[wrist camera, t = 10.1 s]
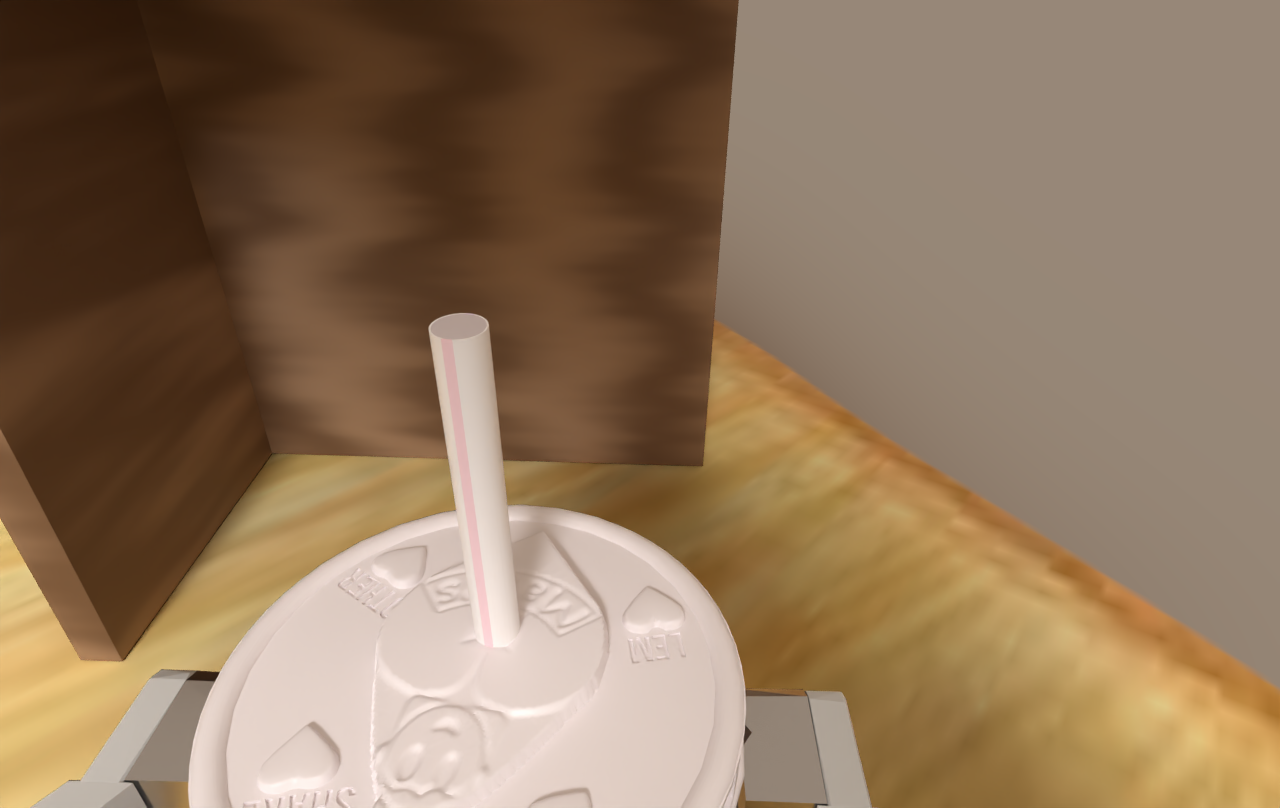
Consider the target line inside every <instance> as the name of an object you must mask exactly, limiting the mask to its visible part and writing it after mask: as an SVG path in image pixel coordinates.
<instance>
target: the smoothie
mask: <svg viewBox="0 0 1280 808" xmlns="http://www.w3.org/2000/svg"><path fill="white" fill-rule="evenodd" d="M428 329H429V336H430V343H431V349H432V356H433V362H434V369H435V375H436V382H437V388H438V395H439V402H440V408H441V415H442V421H443V428H444V434H445V441H446V447H447V454H448V461H449V467H450V474H451V480H452V487H453V493H454V500H455V506H456V510H454V511H448V512H442V513H438V514H434V515H431V516H427V517H424V518H421V519H417V520H414V521H410V522H407V523H403V524H400V525H398V526H395V527H393V528H391V529H388V530H386V531H384V532H381V533H379V534H377V535H374V536H372V537H370V538H367V539H365V540H363V541H360V542H358V543H357V544H355V545H353V546H352V547H350V548H348V549H346V550H345V551H343V552H341V553H339V554H338V555H336V556H334V557H333V558H331V559H329V560H328V561H326V562H324V563H323V564H321V565H319V566H318V567H317V568H316V569H314V570H313V571H312V572H310V573H309V574H308V575H306V576H305V577H304V578H302V579H301V580H300V581H298V582H297V583H296V584H295V585H294V586H292V587H291V588H290V589H289V590H288V591H286V592H285V593H284V594H283V595H282V596H281V597H280V598H279V599H278V600H277V601H276V602H275V603H274V604H272V605H271V606H270V607H269V608H268V609H267V610H266V611H265V612H264V613H263V615H262V616H261V617H260V618H259V619H258V620H257V621H256V622H255V624H254V625H253V626H252V627H251V628H250V629H249V630H248V632H247V633H246V634H245V636H244V637H243V638H242V640H241V641H240V642H239V644H238V645H237V646H236V648H235V649H234V650H233V652H232V654H231V655H230V657H229V658H228V660H227V661H226V663H225V665H224V666H223V668H222V669H221V671H220V673H219V675H218V677H217V679H216V681H215V683H214V685H213V687H212V689H211V691H210V693H209V695H208V698H207V700H206V703H205V705H204V708H203V710H202V713H201V715H200V719H199V722H198V726H197V729H196V733H195V736H194V740H193V746H192V752H191V758H190V764H189V782H188V795H189V807H190V808H736V806H737V802H738V799H739V795H740V791H741V788H742V784H743V780H744V776H745V775H744V733H745V718H746V696H745V683H744V677H743V670H742V664H741V661H740V657H739V654H738V650H737V646H736V643H735V641H734V638H733V636H732V633H731V631H730V629H729V626H728V624H727V622H726V620H725V618H724V617H723V615H722V613H721V611H720V609H719V607H718V606H717V604H716V603H715V602H714V600H713V599H712V597H711V596H710V594H709V593H708V591H707V590H706V589H705V588H704V587H703V585H702V584H701V583H700V582H699V581H698V579H697V578H696V577H695V576H694V575H693V574H692V573H691V572H690V571H689V570H688V569H687V568H686V567H685V566H684V565H683V564H682V563H680V562H679V561H678V560H677V559H675V558H674V557H673V556H672V555H670V554H669V553H668V552H667V551H665V550H664V549H662V548H661V547H659V546H658V545H656V544H655V543H653V542H652V541H650V540H648V539H646V538H644V537H643V536H641V535H639V534H637V533H635V532H634V531H631V530H629V529H627V528H624V527H622V526H620V525H618V524H615V523H612V522H609V521H607V520H604V519H601V518H599V517H595V516H591V515H587V514H583V513H579V512H574V511H570V510H566V509H562V508H552V507H542V506H531V505H507V495H506V486H505V476H504V467H503V457H502V447H501V438H500V428H499V418H498V409H497V399H496V390H495V380H494V370H493V361H492V351H491V342H490V332H489V324H488V321H487V320H486V319H485V318H484V317H482V316H479V315H476V314H470V313H457V314H450V315H446V316H443V317H440V318H438V319H436V320H434V321H433V322H432V323H431V324H430V325H429V328H428Z"/></svg>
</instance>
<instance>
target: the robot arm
mask: <svg viewBox="0 0 1280 808" xmlns="http://www.w3.org/2000/svg"><path fill="white" fill-rule="evenodd" d="M219 673H220V672H209V671H193V670H164V669H161V670H160V671H159V672H158V673H156V674H155V675H154V676H152V677H151V678H150V679H149V680H148V681H147V683H146V684H145V686H144V687H143V688H142V690H141V691H140V693H139V694H138V696H137V697H136V699H135V700H134V702H133V703H132V705H131V706H130V708H129V709H128V711H127V712H126V714H125V715H124V717H123V718H122V720H121V721H120V722H119V724H118V725H117V727H116V728H115V730H114V731H113V733H112V734H111V736H110V737H109V739H108V740H107V742H106V743H105V745H104V746H103V748H102V749H101V751H100V752H99V754H98V755H97V756H96V758H95V759H94V761H93V762H92V764H91V765H90V767H89V768H88V770H87V771H86V773H85V774H84V776H83V777H82V779H81V780H69V781H68V782H66V783H65V784H63V785H62V786H60V787H59V788H57V789H56V790H55V791H53V792H52V793H50V794H49V795H47V796H46V797H45V798H43V799H42V800H40V801H39V802H37V803H36V804H35V805H33V806H32V807H30V808H190V807H189V795H188V782H189V764H190V758H191V752H192V746H193V740H194V736H195V733H196V729H197V726H198V722H199V719H200V715H201V713H202V710H203V708H204V705H205V703H206V700H207V698H208V695H209V693H210V691H211V689H212V687H213V685H214V683H215V681H216V679H217V677H218V675H219ZM745 696H746V718H745V733H744V775H745V776H744V780H743V784H742V788H741V791H740V795H739V799H738V802H737V806H736V808H877V807H872V805H871V801H870V797H869V792H868V788H867V784H866V780H865V776H864V772H863V767H862V763H861V759H860V755H859V751H858V747H857V742H856V738H855V734H854V730H853V726H852V721H851V717H850V713H849V709H848V705H847V701H846V698H845V697H844V695H843V694H842V692H840V691H803V689H748V688H745Z"/></svg>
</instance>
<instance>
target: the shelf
mask: <svg viewBox="0 0 1280 808" xmlns="http://www.w3.org/2000/svg"><path fill="white" fill-rule="evenodd" d="M738 1H739V0H0V519H1V520H2V522H3V524H4V526H5V527H6V529H7V531H8V533H9V535H10V536H11V538H12V540H13V542H14V543H15V545H16V547H17V549H18V550H19V552H20V554H21V556H22V557H23V559H24V561H25V563H26V564H27V566H28V568H29V570H30V571H31V573H32V575H33V577H34V578H35V580H36V582H37V584H38V586H39V587H40V589H41V591H42V593H43V594H44V596H45V598H46V600H47V601H48V603H49V605H50V607H51V608H52V610H53V612H54V614H55V615H56V617H57V619H58V621H59V622H60V624H61V626H62V628H63V629H64V631H65V633H66V635H67V637H68V638H69V640H70V642H71V644H72V645H73V647H74V649H75V651H76V652H77V654H78V656H79V658H80V659H81V660H100V661H123V660H124V658H125V657H126V656H127V654H128V653H129V651H130V650H131V649H132V647H133V646H134V644H135V643H136V642H137V640H138V639H139V637H140V636H141V635H142V633H143V632H144V630H145V629H146V628H147V626H148V625H149V624H150V622H151V621H152V619H153V618H154V617H155V615H156V614H157V612H158V611H159V610H160V608H161V607H162V605H163V604H164V603H165V601H166V600H167V599H168V597H169V596H170V594H171V593H172V592H173V590H174V589H175V587H176V586H177V585H178V583H179V582H180V580H181V579H182V578H183V576H184V575H185V574H186V572H187V571H188V569H189V568H190V567H191V565H192V564H193V562H194V561H195V560H196V558H197V557H198V555H199V554H200V553H201V551H202V550H203V549H204V547H205V546H206V544H207V543H208V542H209V540H210V539H211V537H212V536H213V535H214V533H215V532H216V530H217V529H218V528H219V526H220V525H221V524H222V522H223V521H224V519H225V518H226V517H227V515H228V514H229V512H230V511H231V510H232V508H233V507H234V505H235V504H236V503H237V501H238V500H239V499H240V497H241V496H242V494H243V493H244V492H245V490H246V489H247V487H248V486H249V485H250V483H251V482H252V480H253V479H254V478H255V476H256V475H257V474H258V472H259V471H260V469H261V468H262V467H263V465H264V464H265V462H266V461H267V460H268V458H269V457H270V455H271V454H272V453H281V454H315V455H349V456H383V457H416V458H448V454H447V447H446V441H445V434H444V428H443V421H442V415H441V408H440V402H439V395H438V388H437V382H436V375H435V369H434V362H433V356H432V349H431V343H430V336H429V329H428V328H429V325H430V324H431V323H432V322H433V321H434V320H436V319H438V318H440V317H443V316H446V315H450V314H457V313H470V314H476V315H479V316H482V317H484V318H485V319H486V320H487V321H488V324H489V332H490V342H491V351H492V361H493V370H494V380H495V390H496V399H497V409H498V418H499V428H500V438H501V447H502V457H503V460H518V461H552V462H585V463H619V464H653V465H687V466H703V456H704V443H705V430H706V417H707V404H708V391H709V378H710V365H711V352H712V339H713V326H714V313H715V300H716V287H717V286H716V285H717V274H718V260H719V246H720V235H721V222H722V209H723V195H724V183H725V169H726V157H727V144H728V131H729V118H730V105H731V92H732V91H731V90H732V79H733V66H734V53H735V40H736V27H737V14H738Z"/></svg>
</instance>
